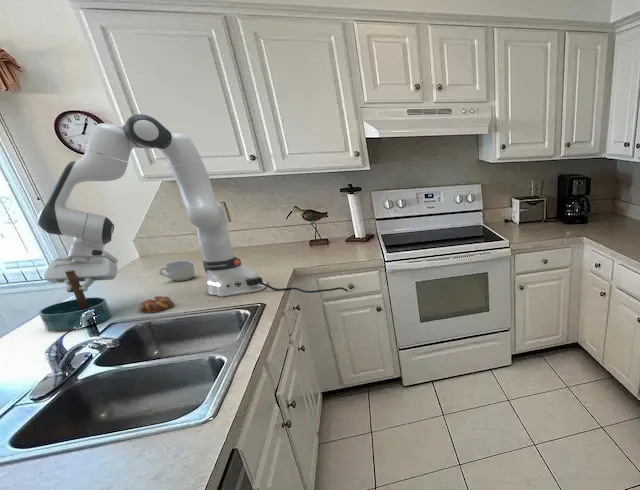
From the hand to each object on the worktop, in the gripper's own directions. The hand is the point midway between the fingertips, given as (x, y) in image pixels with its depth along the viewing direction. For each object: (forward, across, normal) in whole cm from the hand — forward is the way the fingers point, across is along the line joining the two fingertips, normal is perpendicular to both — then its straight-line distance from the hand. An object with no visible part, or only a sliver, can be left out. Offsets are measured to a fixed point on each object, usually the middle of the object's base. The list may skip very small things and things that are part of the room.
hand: (76, 291), depth 145 cm
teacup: (-26, +8, +43) cm, 51 cm away
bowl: (+8, -3, +8) cm, 12 cm away
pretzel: (+2, +17, +15) cm, 23 cm away
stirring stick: (+6, 0, +7) cm, 9 cm away
